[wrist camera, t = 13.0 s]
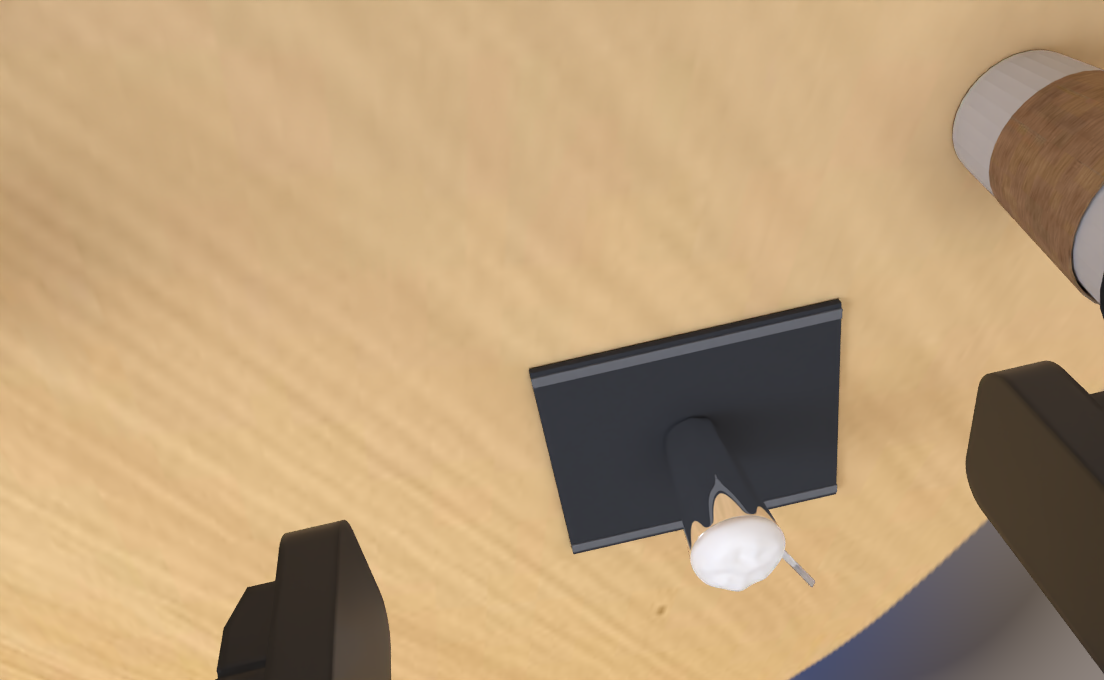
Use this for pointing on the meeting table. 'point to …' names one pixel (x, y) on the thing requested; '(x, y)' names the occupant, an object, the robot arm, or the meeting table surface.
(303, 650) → the robot arm
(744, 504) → the milkshake
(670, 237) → the meeting table surface
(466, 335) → the meeting table surface
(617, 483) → the desk pad
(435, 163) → the meeting table surface
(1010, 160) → the coffee cup
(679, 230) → the meeting table surface
